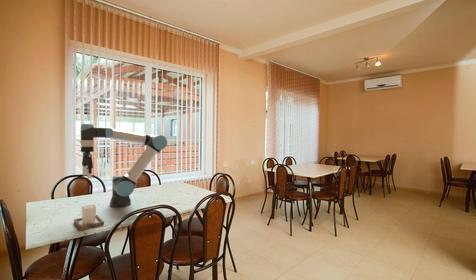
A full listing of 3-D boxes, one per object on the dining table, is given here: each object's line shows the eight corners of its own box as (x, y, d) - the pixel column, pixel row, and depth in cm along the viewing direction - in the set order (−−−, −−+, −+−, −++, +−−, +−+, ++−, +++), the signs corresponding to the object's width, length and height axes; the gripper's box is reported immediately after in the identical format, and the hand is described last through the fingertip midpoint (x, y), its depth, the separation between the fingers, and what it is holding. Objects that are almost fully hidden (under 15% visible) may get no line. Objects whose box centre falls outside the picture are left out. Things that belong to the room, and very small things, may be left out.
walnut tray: (97, 217, 161) (97, 214, 161) (103, 225, 150) (103, 221, 150) (74, 222, 152) (74, 219, 152) (79, 230, 141) (79, 226, 141)
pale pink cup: (78, 223, 149) (78, 207, 148) (90, 219, 156) (90, 204, 156) (87, 225, 146) (87, 209, 145) (99, 221, 153) (99, 205, 153)
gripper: (77, 145, 171) (77, 174, 172) (85, 147, 153) (85, 180, 154) (89, 145, 177) (89, 173, 177) (98, 147, 159) (98, 178, 159)
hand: (87, 176), depth 166 cm, fingers open, 13 cm apart
